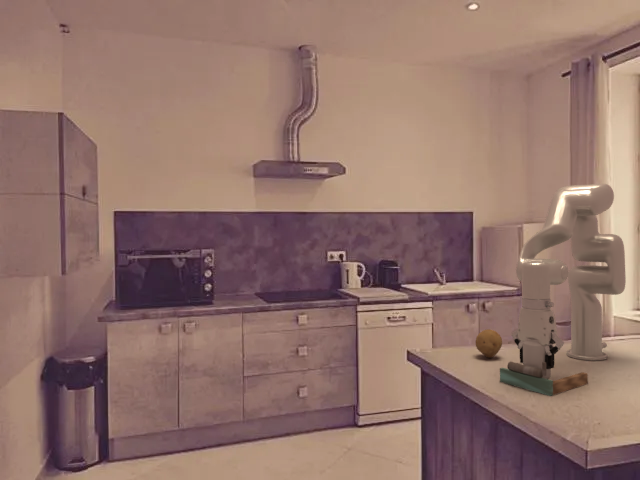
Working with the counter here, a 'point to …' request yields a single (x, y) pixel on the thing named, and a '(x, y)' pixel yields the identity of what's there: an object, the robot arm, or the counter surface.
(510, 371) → the bay
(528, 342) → the can
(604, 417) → the counter surface
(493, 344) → the natural sponge
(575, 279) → the robot arm
